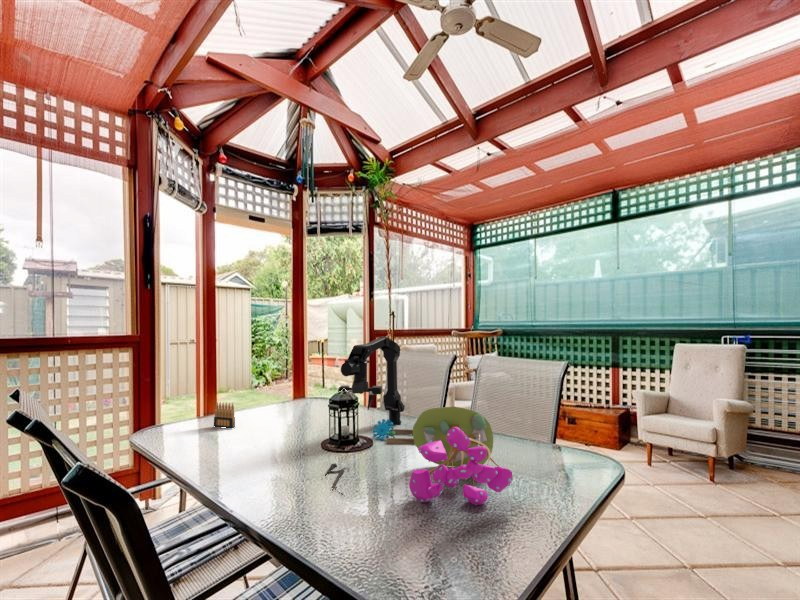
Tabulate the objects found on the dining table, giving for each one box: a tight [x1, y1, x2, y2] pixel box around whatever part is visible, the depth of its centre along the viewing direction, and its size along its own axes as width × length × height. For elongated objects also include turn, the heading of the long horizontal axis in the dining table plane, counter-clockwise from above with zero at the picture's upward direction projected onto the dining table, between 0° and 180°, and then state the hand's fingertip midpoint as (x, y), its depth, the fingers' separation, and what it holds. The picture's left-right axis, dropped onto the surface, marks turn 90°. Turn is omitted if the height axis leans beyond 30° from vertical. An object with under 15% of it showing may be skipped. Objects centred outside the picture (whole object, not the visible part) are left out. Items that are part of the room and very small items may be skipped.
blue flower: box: [371, 418, 396, 441], centre depth 164 cm, size 11×6×10 cm
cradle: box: [386, 428, 415, 445], centre depth 162 cm, size 14×20×3 cm
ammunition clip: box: [213, 401, 236, 429], centre depth 179 cm, size 11×2×12 cm, turn 75°
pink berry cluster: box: [408, 406, 513, 506], centre depth 113 cm, size 30×28×35 cm
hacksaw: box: [324, 463, 350, 496], centre depth 119 cm, size 24×10×2 cm, turn 173°
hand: (360, 409), depth 164 cm, fingers open, 7 cm apart
